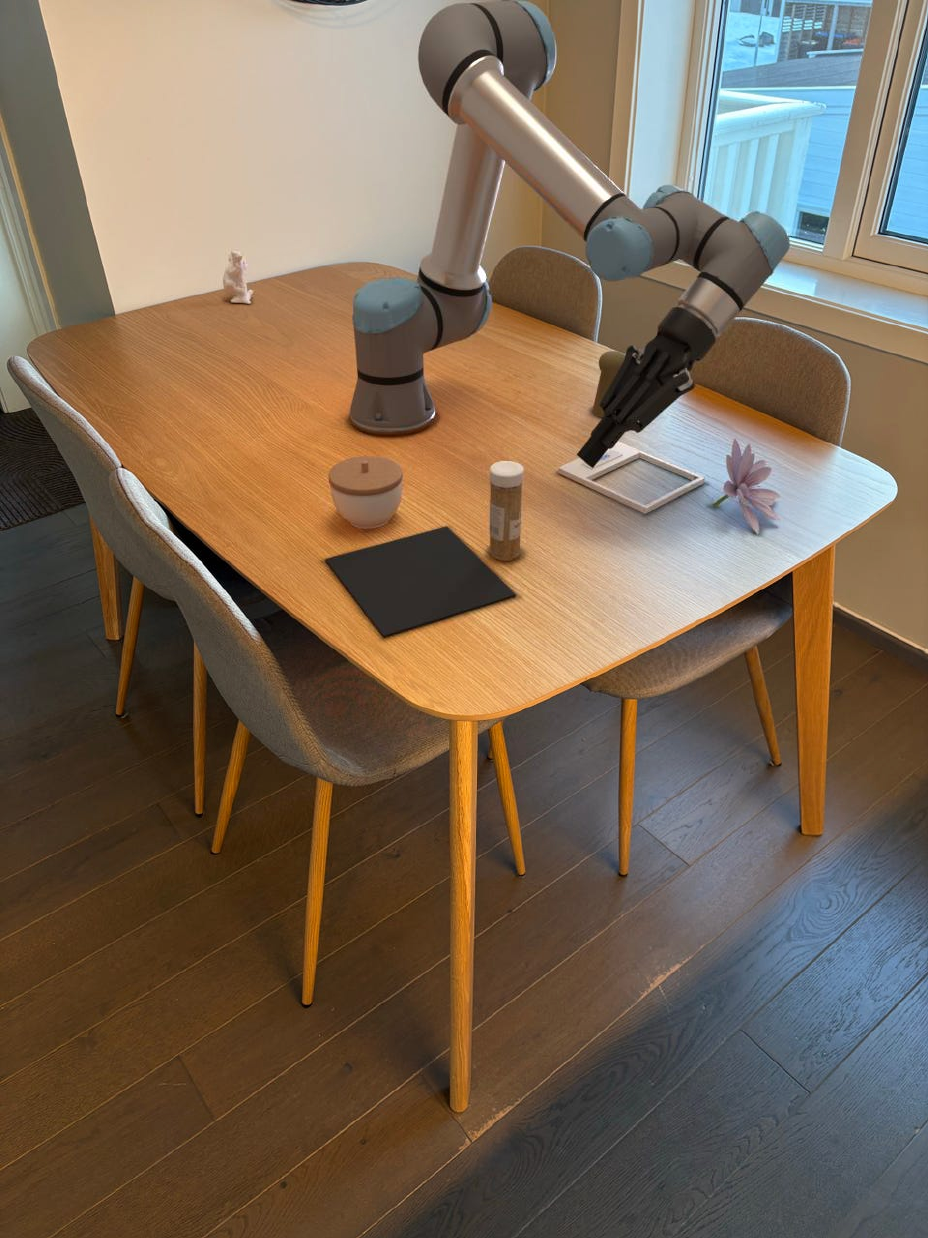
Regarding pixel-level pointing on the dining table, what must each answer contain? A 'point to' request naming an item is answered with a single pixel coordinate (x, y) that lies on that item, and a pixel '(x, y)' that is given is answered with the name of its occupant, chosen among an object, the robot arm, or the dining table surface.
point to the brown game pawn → (606, 377)
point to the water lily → (748, 485)
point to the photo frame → (620, 457)
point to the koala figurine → (237, 278)
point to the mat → (418, 580)
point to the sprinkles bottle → (505, 510)
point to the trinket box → (366, 490)
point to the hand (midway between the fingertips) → (584, 461)
